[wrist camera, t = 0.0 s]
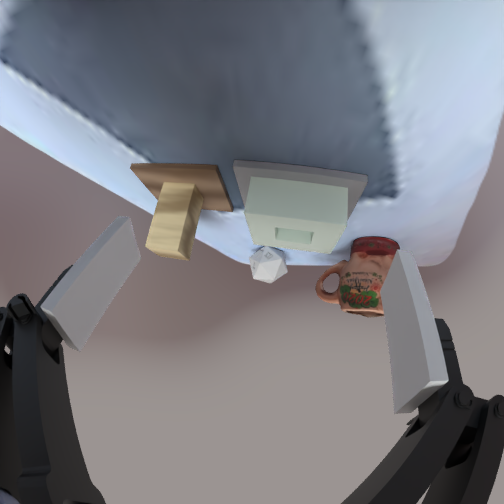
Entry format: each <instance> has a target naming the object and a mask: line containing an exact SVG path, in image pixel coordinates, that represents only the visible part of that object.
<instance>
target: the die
mask: <svg viewBox="0 0 504 504" xmlns="http://www.w3.org/2000/svg"><path fill="white" fill-rule="evenodd" d="M249 260H250V264H251V269H252V274H253V278H254V279H256V280H260V281H264V282H268V283H272V282H273V281H275V280H276V279H278V278H279V277H281V276H282V275H284V274H285V273H287V272H288V271H287V267H286V262H285V258H284V254H283V251H281V250H278V249H275V248H273V247H270V246H264V247H263V248H261V249H260V250H259V251H257V252H256V253H255V254H253V255H252V256H250V257H249Z"/></svg>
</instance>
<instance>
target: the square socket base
mask: <svg viewBox="0 0 504 504" xmlns="http://www.w3.org/2000/svg"><path fill="white" fill-rule="evenodd" d="M233 169H234V173H235V176H236V179H237V183H238V186H239V190H240V193H241V196H242V200H243V203H244V207H245V211H244V214H245V217H246V221H247V224H248V227H249V230H250V234H251V237H252V240H253V243H254V244H255V245H263V246H271V247H279V248H287V249H295V250H302V251H310V252H318V253H326V254H331V252H332V250H333V249H334V247H335V245H336V244H337V242H338V240H339V239H340V237H341V235H342V233H343V232H344V230H345V228H346V227H347V220H348V219H349V217H350V215H351V213H352V211H353V209H354V208H355V206H356V204H357V202H358V200H359V198H360V196H361V194H362V192H363V190H364V189H365V187H366V185H367V183H368V179H367V175H363V174H357V173H351V172H344V171H338V170H331V169H324V168H316V167H308V166H300V165H291V164H281V163H271V162H259V161H246V160H234V163H233Z"/></svg>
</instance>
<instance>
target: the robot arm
mask: <svg viewBox="0 0 504 504" xmlns="http://www.w3.org/2000/svg"><path fill="white" fill-rule="evenodd" d="M140 259H141V257H140V253H139V250H138V246H137V242H136V238H135V235H134V231H133V227H132V223H131V219H130V217H122V216H118V217H117V218H116V219H115V220H114V221H113V222H112V224H111V225H110V226H109V227H108V228H107V229H106V230H105V231H104V232H103V233H102V234H101V235H100V236H99V237H98V238H97V240H95V241H94V242H93V244H92V245H91V246H90V247H89V248H88V249H87V250H86V251H85V253H84V254H83V255H82V256H81V257H80V258H79V259H78V260H77V262H76V263H75V264H74V265H71V266H70V267H69V268H67V269H66V270H64V271H63V273H62V274H61V275H60V276H59V277H58V280H56V281H55V282H54V284H53V286H51V287H50V289H49V290H48V291H47V292H46V293H45V295H44V296H43V297H42V299H41V300H40V301H39V303H38V304H37V305H36V306H35V307H34V306H33V304H32V303H31V301H30V300H29V298H28V297H27V295H26V294H23V293H22V294H18V295H16V296H14V297H13V298H12V299H11V300H10V301H9V303H8V304H7V307H6V308H5V307H0V504H106V503H105V501H104V498H103V496H102V494H101V493H100V491H99V490H98V489H97V488H96V487H95V486H94V485H93V484H92V482H91V480H90V477H89V474H88V471H87V468H86V465H85V462H84V458H83V455H82V452H81V448H80V444H79V440H78V437H77V433H76V428H75V424H74V420H73V415H72V410H71V405H70V399H69V393H68V387H67V380H66V373H65V364H64V355H63V347H62V345H61V344H60V343H61V342H62V340H64V341H65V343H66V344H67V345H68V346H69V347H70V348H72V349H75V350H77V351H79V352H80V351H81V350H82V348H83V346H84V345H85V343H86V341H87V340H88V338H89V336H90V335H91V333H92V331H93V330H94V328H95V326H96V325H97V323H98V322H99V320H100V319H101V317H102V315H103V314H104V312H105V311H106V309H107V307H108V306H109V305H110V303H111V301H112V300H113V298H114V297H115V295H116V294H117V292H118V291H119V290H120V288H121V286H122V285H123V284H124V282H125V281H126V279H127V278H128V276H129V275H130V273H131V272H132V271H133V269H134V268H135V266H136V265H137V264H138V262H139V261H140ZM380 294H381V300H382V305H383V311H384V317H385V324H386V331H387V338H388V346H389V354H390V363H391V374H392V385H393V400H394V413H411V412H412V411H414V410H415V409H416V408H417V407H418V411H419V415H417V416H416V417H415V418H413V419H412V420H410V421H409V422H408V423H407V425H410V424H411V425H410V426H409V427H408V429H407V430H406V432H405V433H404V434H403V436H402V437H401V438H400V440H399V441H398V442H397V443H396V445H395V446H394V447H393V448H392V450H391V451H390V452H389V453H388V455H387V456H386V457H385V458H384V459H383V461H382V462H381V463H380V464H379V465H378V466H377V467H376V469H375V470H374V471H373V472H372V473H371V474H370V475H369V476H368V478H367V479H365V481H364V482H363V483H362V484H361V485H360V486H359V487H358V488H357V489H356V490H355V491H354V492H353V493H352V494H351V495H350V496H349V497H348V498H346V499H345V500H344V501H343V502H342V503H341V504H416V503H417V502H418V501H419V499H420V498H421V497H422V495H423V494H424V493H425V491H426V490H427V489H428V487H429V486H430V487H429V490H428V492H427V494H426V496H425V498H424V500H423V502H422V504H487V502H488V499H489V496H490V494H491V491H492V488H493V485H494V482H495V479H496V475H497V472H498V469H499V465H500V461H501V457H502V453H503V449H504V397H503V396H502V395H496V396H494V397H493V398H491V399H490V400H484V399H481V398H478V397H475V396H474V395H473V392H472V390H471V389H470V388H469V387H468V386H466V385H464V384H463V381H462V377H461V373H460V368H459V364H458V359H457V355H456V351H455V350H454V349H455V347H454V343H453V342H452V336H451V333H450V329H449V327H448V326H447V324H446V323H445V321H444V320H443V319H436V318H434V316H433V313H432V309H431V306H430V303H429V300H428V296H427V293H426V290H425V287H424V285H423V282H422V279H421V276H420V273H419V270H418V268H417V265H416V262H415V260H414V257H413V254H412V252H411V251H405V250H399V249H397V251H396V254H395V257H394V259H393V262H392V264H391V267H390V269H389V272H388V274H387V277H386V279H385V281H384V284H383V286H382V288H381V291H380ZM5 345H6V346H7V347H8V348H9V349H10V353H9V354H7V353H6V352H5V350H4V349H5ZM430 484H431V485H430Z"/></svg>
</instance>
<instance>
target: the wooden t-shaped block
mask: <svg viewBox="0 0 504 504" xmlns="http://www.w3.org/2000/svg"><path fill="white" fill-rule="evenodd" d="M130 169H131V170H132V171H133V172H134V173H135V175H136V176H137V177H138V178H139V179H140V180H141V182H142V183H143V184H144V185H145V186H146V187H147V188H148V190H149V191H150V192H151V193H152V194H153V195H154V196H155V198H156V199H157V200H158V202H157V206H156V209H155V213H154V217H153V219H152V223H151V227H150V230H149V235H148V238H147V242H146V245H145V246H146V247H147V248H148V249H150V250H151V251H153V252H154V253H156V254H157V255H159V256H162V257H169V258H176V259H183V260H190V255H191V251H192V246H193V242H194V237H195V233H196V229H197V224H198V220H199V216H200V212H201V209H207V210H217V211H228V212H233V206H232V203H231V200H230V198H229V195H228V193H227V190H226V187H225V185H224V182H223V180H222V177H221V174H220V172H219V169H218V166H217V165H207V164H171V163H140V164H131V167H130Z"/></svg>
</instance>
